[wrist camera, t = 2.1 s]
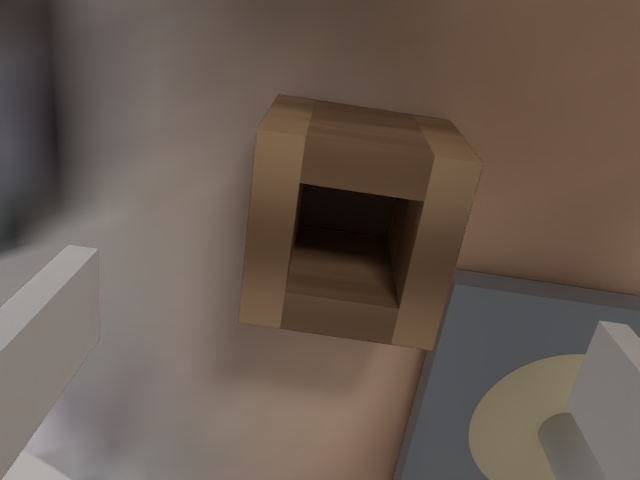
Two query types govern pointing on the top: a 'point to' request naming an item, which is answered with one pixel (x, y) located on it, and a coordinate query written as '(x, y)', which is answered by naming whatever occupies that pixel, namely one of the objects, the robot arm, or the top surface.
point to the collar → (350, 248)
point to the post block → (507, 381)
